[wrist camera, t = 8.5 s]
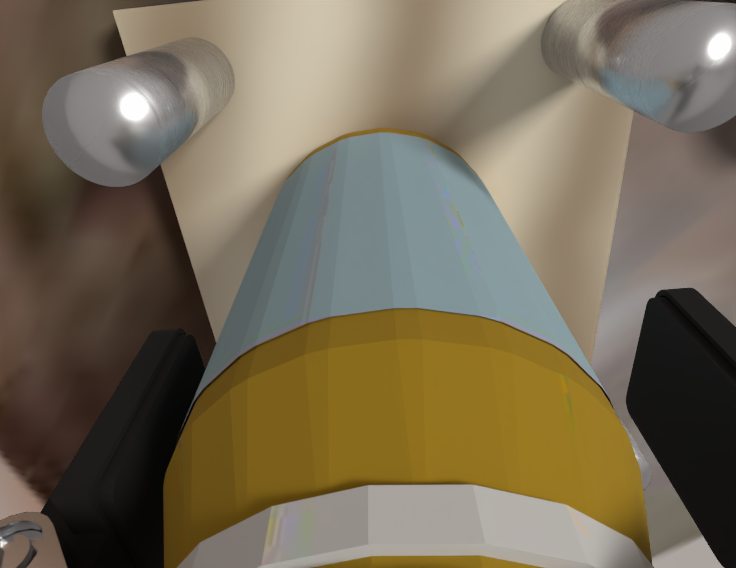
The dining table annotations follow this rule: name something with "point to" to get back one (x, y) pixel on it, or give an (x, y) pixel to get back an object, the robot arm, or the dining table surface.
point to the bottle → (398, 390)
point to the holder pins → (559, 49)
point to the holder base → (395, 125)
